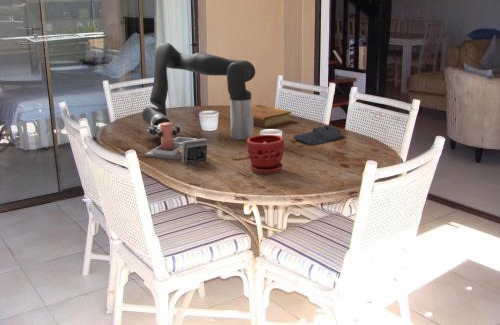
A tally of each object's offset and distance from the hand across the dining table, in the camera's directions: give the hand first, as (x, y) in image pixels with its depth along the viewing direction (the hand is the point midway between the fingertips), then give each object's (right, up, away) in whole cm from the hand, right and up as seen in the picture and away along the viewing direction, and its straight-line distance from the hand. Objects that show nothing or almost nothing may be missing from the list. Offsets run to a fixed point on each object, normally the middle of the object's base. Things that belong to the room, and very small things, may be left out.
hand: (168, 133), depth 224 cm
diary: (+37, +8, +57) cm, 69 cm away
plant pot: (+38, -14, -17) cm, 44 cm away
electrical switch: (+12, -12, -7) cm, 18 cm away
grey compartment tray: (+2, -6, +10) cm, 12 cm away
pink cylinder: (-1, -5, +4) cm, 7 cm away
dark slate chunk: (+62, -1, +24) cm, 66 cm away
